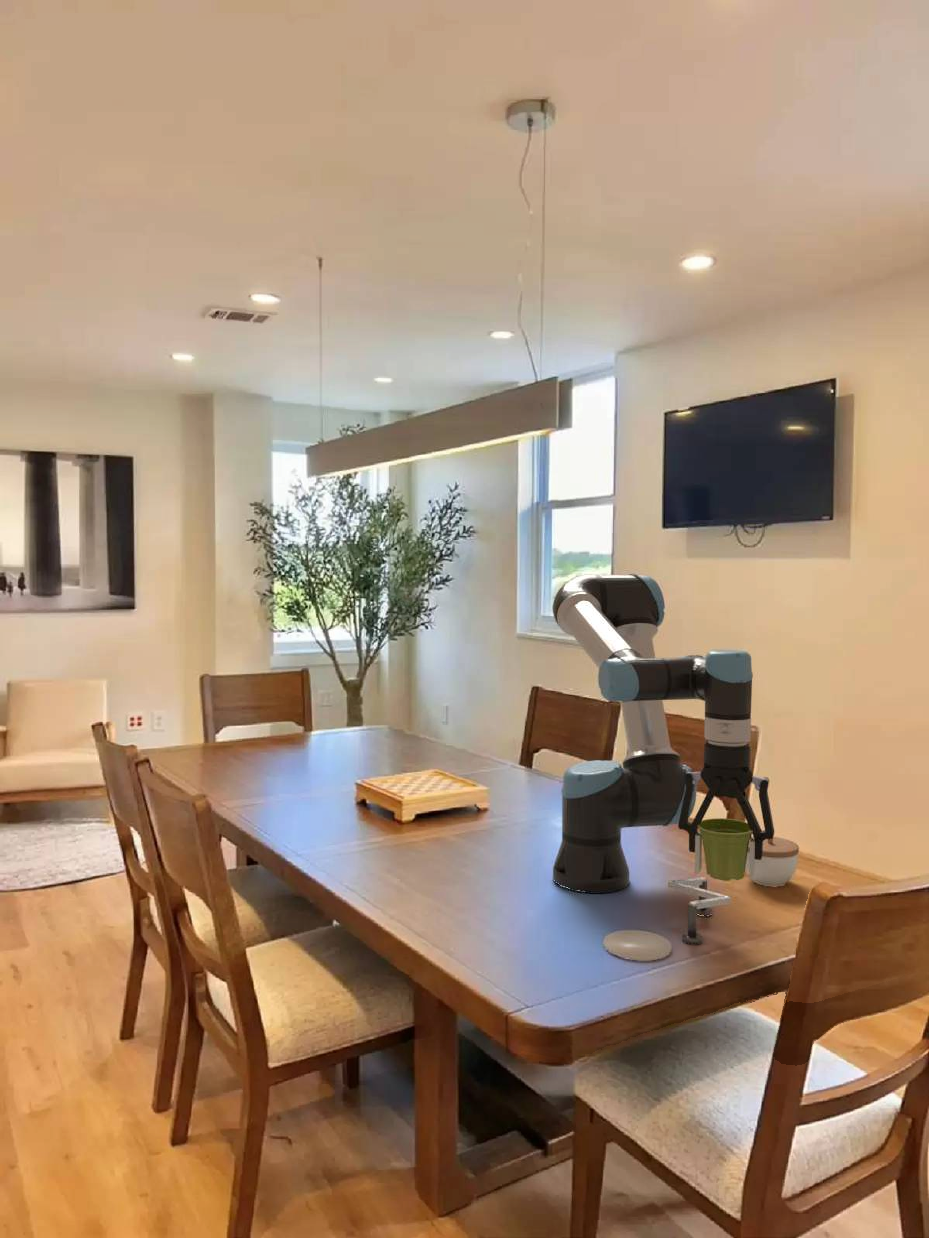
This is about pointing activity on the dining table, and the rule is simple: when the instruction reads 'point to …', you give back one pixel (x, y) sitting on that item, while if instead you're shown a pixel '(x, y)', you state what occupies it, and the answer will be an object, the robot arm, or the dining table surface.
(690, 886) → the zigzag bar on posts
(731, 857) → the plant pot
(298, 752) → the dining table surface
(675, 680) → the robot arm
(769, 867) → the lidded jar
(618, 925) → the dining table surface
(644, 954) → the pad
